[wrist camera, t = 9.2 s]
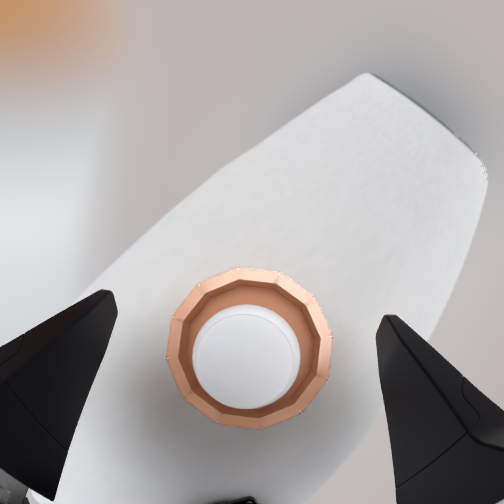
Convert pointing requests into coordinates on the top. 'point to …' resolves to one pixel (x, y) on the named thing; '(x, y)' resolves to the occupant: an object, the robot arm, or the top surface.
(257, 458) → the top surface
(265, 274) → the terracotta bowl
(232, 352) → the supplement bottle
